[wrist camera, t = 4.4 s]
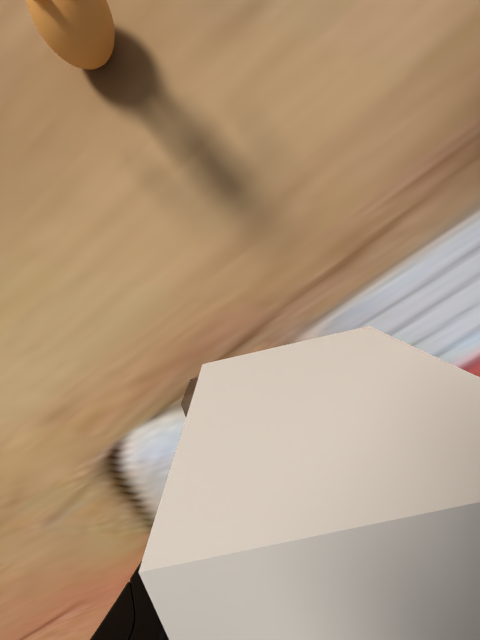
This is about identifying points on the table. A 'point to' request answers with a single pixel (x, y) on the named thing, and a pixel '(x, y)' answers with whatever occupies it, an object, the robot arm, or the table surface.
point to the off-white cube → (323, 498)
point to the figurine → (76, 29)
